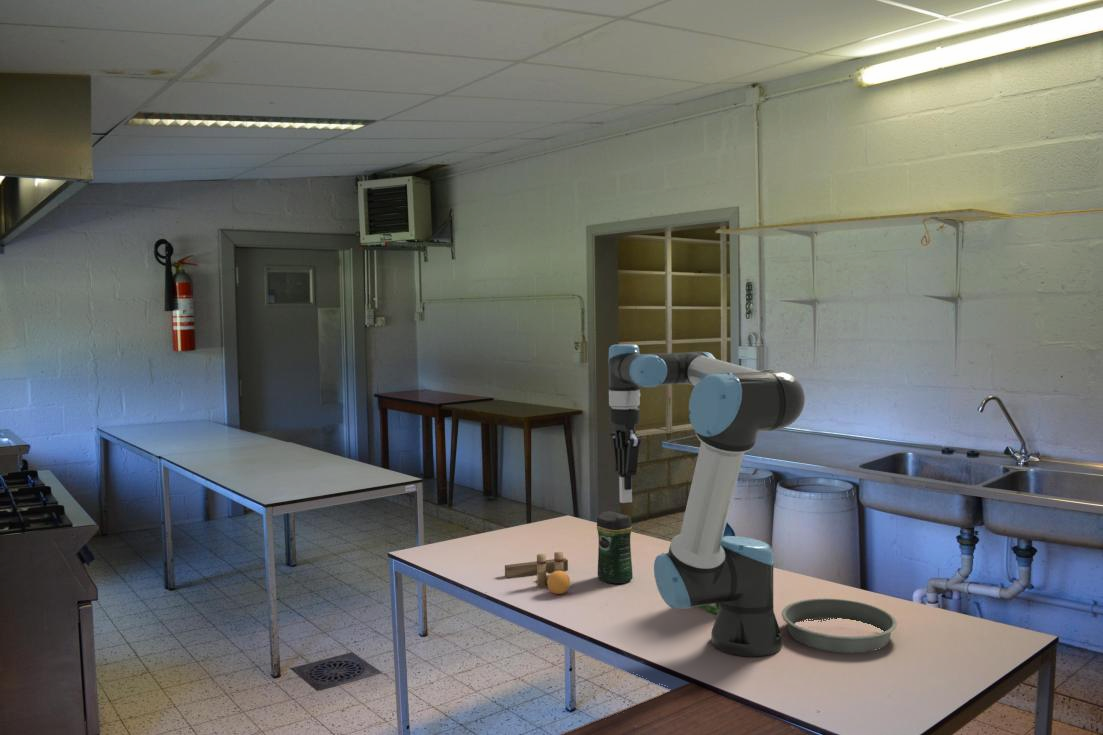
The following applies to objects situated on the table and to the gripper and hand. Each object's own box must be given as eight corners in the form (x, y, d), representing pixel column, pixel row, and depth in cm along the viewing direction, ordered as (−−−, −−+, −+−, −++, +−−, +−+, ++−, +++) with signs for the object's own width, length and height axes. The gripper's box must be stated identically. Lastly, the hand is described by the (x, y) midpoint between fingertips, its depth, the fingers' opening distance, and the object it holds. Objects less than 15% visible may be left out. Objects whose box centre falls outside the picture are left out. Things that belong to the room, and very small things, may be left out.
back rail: (567, 570, 246) (567, 560, 245) (507, 578, 239) (507, 567, 239) (564, 568, 248) (564, 557, 248) (505, 575, 242) (504, 565, 242)
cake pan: (760, 625, 201) (760, 606, 201) (845, 610, 210) (845, 592, 209) (828, 665, 178) (828, 643, 178) (922, 646, 187) (922, 626, 187)
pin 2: (565, 584, 233) (564, 553, 232) (556, 585, 232) (555, 554, 231) (562, 582, 235) (561, 551, 235) (553, 583, 234) (552, 552, 234)
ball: (563, 571, 230) (568, 594, 228) (542, 575, 228) (547, 598, 226) (569, 566, 225) (575, 589, 223) (548, 570, 223) (554, 593, 220)
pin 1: (547, 587, 231) (547, 555, 230) (539, 588, 230) (538, 556, 230) (544, 584, 233) (544, 553, 233) (535, 585, 233) (535, 554, 232)
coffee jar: (637, 580, 235) (636, 513, 234) (615, 586, 230) (614, 518, 229) (614, 572, 243) (613, 507, 242) (592, 578, 238) (591, 511, 237)
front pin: (557, 578, 230) (547, 569, 238) (549, 580, 229) (538, 571, 237) (558, 587, 230) (547, 578, 238) (549, 589, 229) (539, 580, 237)
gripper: (650, 408, 207) (651, 505, 208) (627, 403, 219) (628, 495, 220) (621, 410, 204) (622, 508, 206) (600, 405, 216) (601, 498, 218)
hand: (625, 501), depth 213 cm, fingers closed
